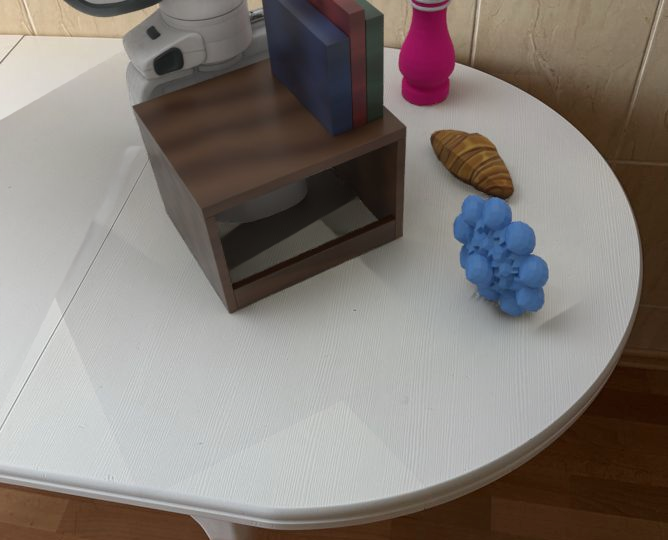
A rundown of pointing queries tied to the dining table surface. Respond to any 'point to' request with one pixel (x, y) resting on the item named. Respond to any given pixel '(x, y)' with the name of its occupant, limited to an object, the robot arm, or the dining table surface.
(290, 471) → the dining table surface
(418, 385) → the dining table surface
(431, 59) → the pepper mill
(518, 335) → the dining table surface
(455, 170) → the croissant
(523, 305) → the grapes
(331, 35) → the bookshelf
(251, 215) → the lumpy-topped squat cylinder
